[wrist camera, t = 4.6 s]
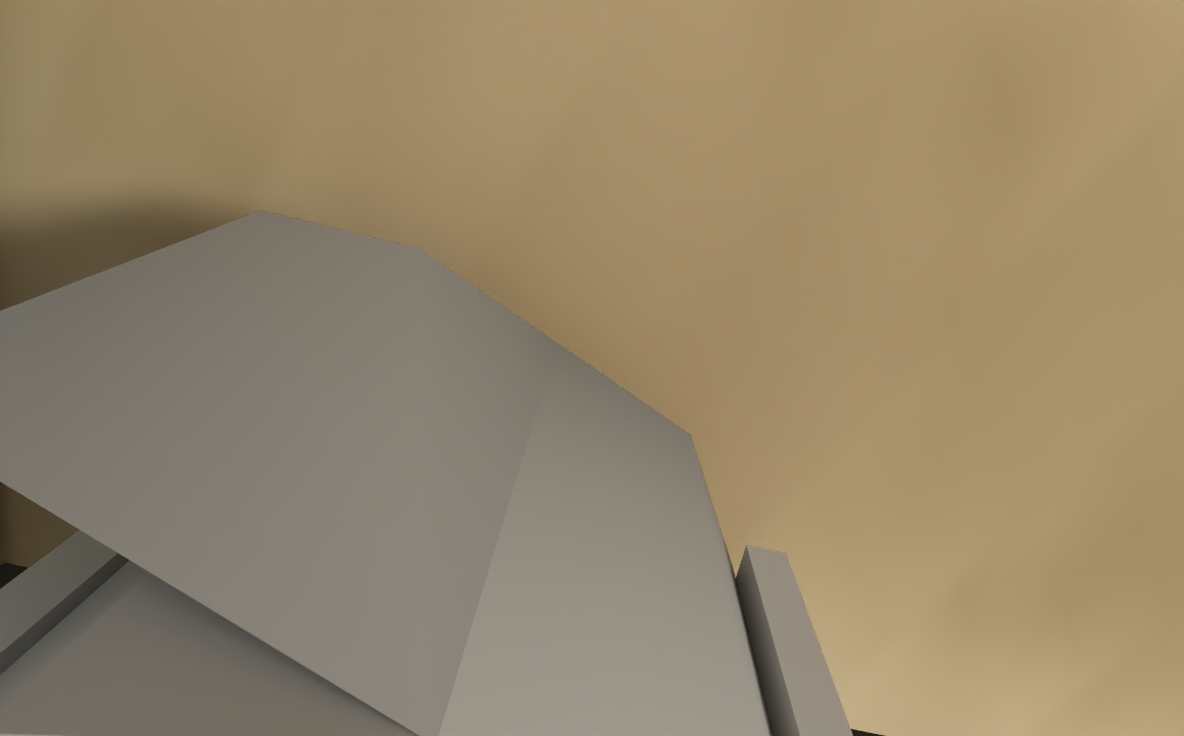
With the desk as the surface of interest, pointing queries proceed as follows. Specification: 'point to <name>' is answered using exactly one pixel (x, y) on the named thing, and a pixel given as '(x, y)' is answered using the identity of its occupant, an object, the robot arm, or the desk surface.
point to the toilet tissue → (356, 509)
